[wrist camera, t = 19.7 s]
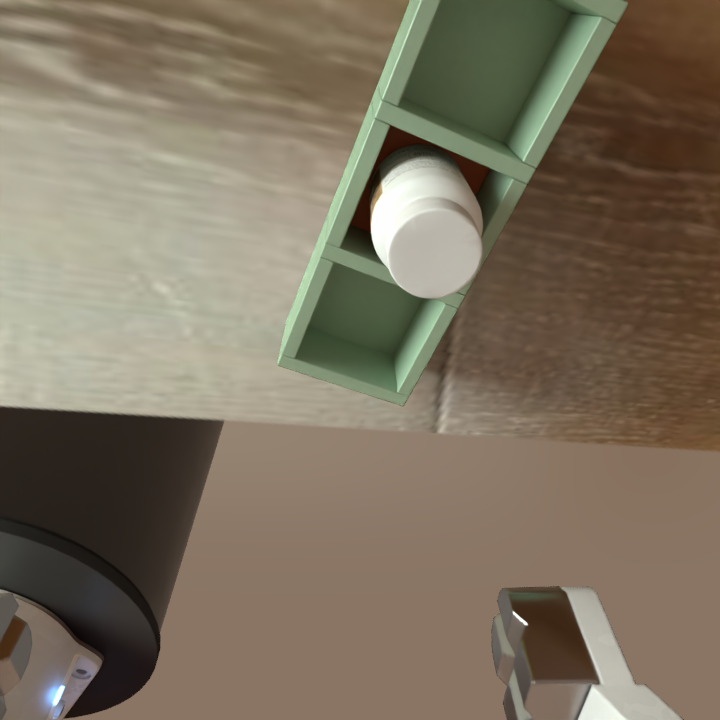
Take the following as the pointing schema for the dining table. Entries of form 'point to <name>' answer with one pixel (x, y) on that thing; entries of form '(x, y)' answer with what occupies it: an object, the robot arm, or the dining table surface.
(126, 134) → the dining table surface
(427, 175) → the pill bottle
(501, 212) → the rack
